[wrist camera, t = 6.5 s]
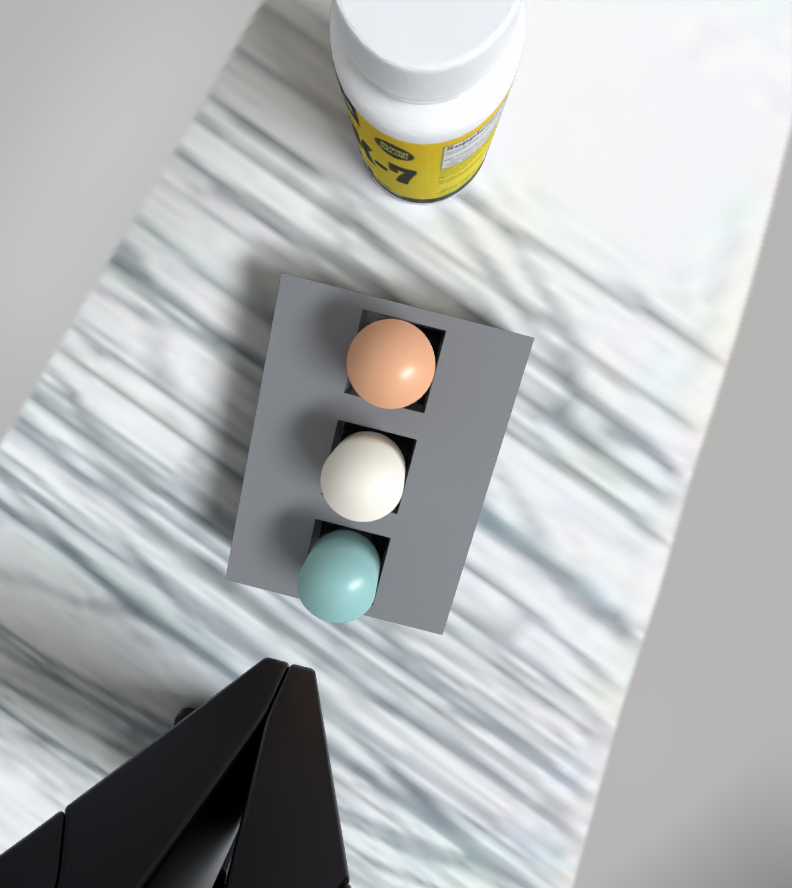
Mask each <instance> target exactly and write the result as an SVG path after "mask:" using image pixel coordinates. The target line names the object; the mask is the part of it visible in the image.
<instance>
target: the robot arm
mask: <svg viewBox="0 0 792 888" xmlns="http://www.w3.org/2000/svg"><path fill="white" fill-rule="evenodd" d="M348 883H349V872H348V866H347V860H346V854H345V848H344V842H343V836H342V830H341V824H340V818H339V812H338V806H337V800H336V794H335V788H334V782H333V776H332V770H331V764H330V758H329V752H328V746H327V740H326V734H325V728H324V722H323V716H322V710H321V704H320V698H319V692H318V686H317V680H316V674H315V671H314V670H313V669H311V668H307V667H303V666H299V665H295V664H293V665H291V666H290V667H289V664H288V663H287V662H284V661H280V660H276V659H272V658H265V659H263V660H261V661H260V662H259V663H257V664H256V665H255V666H253V667H252V668H251V669H249V670H248V671H247V672H245V673H244V674H243V675H241V676H240V677H239V678H237V679H236V680H235V681H233V682H232V683H231V684H229V685H228V686H227V687H225V688H224V689H223V690H221V691H220V692H219V693H217V694H216V695H215V696H213V697H212V698H211V699H209V700H208V701H207V702H205V703H204V704H203V705H201V706H200V707H199V708H197V709H192V708H184V709H182V710H181V711H180V712H179V714H178V715H177V717H176V719H175V722H174V726H173V727H172V728H171V729H169V730H168V731H167V732H165V733H164V734H163V735H161V736H160V737H159V738H157V739H156V740H155V741H153V742H152V743H151V744H149V745H148V746H147V747H145V748H144V749H143V750H141V751H140V752H139V753H137V754H136V755H135V756H133V757H132V758H131V759H129V760H128V761H127V762H125V763H124V764H123V765H121V766H120V767H119V768H117V769H116V770H114V771H113V772H112V773H110V774H109V775H108V776H106V777H105V778H104V779H102V780H101V781H100V782H98V783H97V784H96V785H94V786H93V787H92V788H90V789H89V790H88V791H86V792H85V793H84V794H82V795H81V796H80V797H78V798H77V799H76V800H74V801H73V802H72V803H70V804H69V805H68V806H67V807H66V809H65V814H64V812H62V811H60V812H58V813H57V814H55V815H54V816H53V817H51V818H50V819H49V820H47V821H46V822H45V823H43V824H42V825H41V826H39V827H38V828H37V829H35V830H34V831H33V832H31V833H30V834H29V835H27V836H26V837H25V838H23V839H22V840H20V841H19V842H18V843H16V844H15V845H13V846H12V847H11V848H9V849H8V850H6V851H5V852H4V853H2V854H1V855H0V888H351V886H350V885H349V884H348Z"/></svg>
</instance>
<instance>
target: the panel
mask: <svg viewBox="0 0 792 888" xmlns="http://www.w3.org/2000/svg"><path fill="white" fill-rule="evenodd" d="M370 314H374V315H378V316H381V317H385V318H389V319H398V320H403V321H406V322H408V323H410V324H413V325H417V326H420V327H424V328H428V329H432V330H436V331H440V332H443V334H442V338H441V342H440V346H439V349H438V353H437V357H436V361H435V372H434V377H433V380H432V382H431V384H430V386H429V388H428V391H427V395H426V398H425V402H424V405H422V404H418V403H412V404H410V405H408V406H405V407H402V408H397V409H385V408H380V407H377V406H374V405H372V404H370V403H368V402H367V401H365V400H364V399H363V398H362V397H360V395H359V394H358V393H357V392H356V391H355V389H354V388H353V386H352V384H351V382H350V380H349V377H348V373H347V355H348V351H349V348H350V345H351V343H352V341H353V340H354V338H355V337H356V335H357V334H358V333H359V332H360V331H361V330H362V329H363V328H365V327H366V326H367V325H368V320H369V316H370ZM533 341H534V338H533V337H529V336H525V335H521V334H518V333H514V332H510V331H506V330H502V329H498V328H494V327H490V326H486V325H483V324H479V323H475V322H471V321H467V320H463V319H459V318H455V317H451V316H448V315H444V314H440V313H436V312H432V311H428V310H424V309H420V308H416V307H413V306H409V305H405V304H401V303H397V302H393V301H389V300H385V299H381V298H378V297H374V296H370V295H366V294H362V293H358V292H354V291H350V290H346V289H343V288H339V287H335V286H331V285H327V284H323V283H319V282H315V281H311V280H308V279H304V278H300V277H296V276H292V275H288V274H284V273H281V279H280V284H279V289H278V295H277V300H276V306H275V311H274V317H273V322H272V328H271V333H270V339H269V344H268V349H267V355H266V360H265V366H264V371H263V377H262V382H261V388H260V393H259V398H258V404H257V409H256V415H255V420H254V426H253V431H252V437H251V442H250V448H249V453H248V458H247V464H246V469H245V475H244V480H243V486H242V491H241V497H240V502H239V508H238V513H237V518H236V524H235V529H234V535H233V540H232V546H231V551H230V557H229V562H228V567H227V573H226V578H225V580H229V581H233V582H237V583H241V584H245V585H249V586H253V587H257V588H260V589H264V590H268V591H272V592H276V593H280V594H284V595H288V596H292V597H296V598H300V597H299V594H298V589H297V580H298V576H299V573H300V570H301V568H302V566H303V565H304V563H305V561H306V559H307V557H308V555H309V553H310V551H311V549H312V548H313V546H314V544H315V543H316V542H317V541H318V539H319V534H320V530H321V526H322V521H326V522H330V523H334V524H338V525H342V526H346V527H350V528H354V529H357V530H361V531H365V532H369V533H373V534H377V535H381V536H385V537H389V538H388V541H387V545H386V549H385V553H384V556H383V560H382V564H381V568H380V571H379V577H378V582H377V588H376V593H375V598H374V601H373V603H372V605H371V607H370V608H369V609H368V611H367V612H366V613H365V614H363V615H366V616H370V617H374V618H378V619H382V620H386V621H390V622H394V623H398V624H402V625H406V626H409V627H413V628H417V629H421V630H425V631H429V632H433V633H437V634H441V635H442V634H443V631H444V628H445V625H446V621H447V618H448V615H449V612H450V608H451V605H452V602H453V599H454V596H455V592H456V589H457V586H458V583H459V579H460V576H461V573H462V570H463V567H464V563H465V560H466V557H467V554H468V550H469V547H470V544H471V541H472V537H473V534H474V531H475V528H476V525H477V521H478V518H479V515H480V512H481V508H482V505H483V502H484V499H485V496H486V492H487V489H488V486H489V483H490V479H491V476H492V473H493V470H494V466H495V463H496V460H497V457H498V454H499V450H500V447H501V444H502V441H503V437H504V434H505V431H506V428H507V425H508V421H509V418H510V415H511V412H512V408H513V405H514V402H515V399H516V396H517V392H518V389H519V386H520V383H521V379H522V376H523V373H524V370H525V366H526V363H527V360H528V357H529V354H530V350H531V347H532V344H533ZM345 421H346V422H350V423H354V424H358V425H362V426H366V427H369V428H373V429H377V430H381V431H385V432H389V433H393V434H397V435H401V436H405V437H408V438H412V439H415V440H414V443H413V447H412V451H411V455H410V459H409V462H408V466H407V470H406V474H405V480H404V488H403V493H402V496H401V499H400V501H399V503H398V504H397V505H396V507H395V508H394V509H393V510H392V511H391V512H390V513H389V514H387V515H386V516H384V517H382V518H380V519H378V520H374V521H369V522H357V521H352V520H349V519H347V518H344V517H342V516H341V515H339V514H338V513H336V512H335V511H334V510H333V509H332V508H331V507H330V506H329V504H328V503H327V501H326V500H325V498H324V496H323V493H322V489H321V483H320V479H321V471H322V468H323V466H324V463H325V461H326V460H327V458H328V457H329V456H330V454H331V453H332V452H333V451H334V450H335V448H336V447H337V446H338V445H339V443H340V442H341V438H342V434H343V429H344V425H345Z"/></svg>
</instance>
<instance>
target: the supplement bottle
mask: <svg viewBox="0 0 792 888" xmlns="http://www.w3.org/2000/svg"><path fill="white" fill-rule="evenodd" d="M524 36H525V7H524V0H332V4H331V11H330V44H331V52H332V57H333V63H334V67H335V72H336V76H337V79H338V82H339V85H340V88H341V91H342V94H343V97H344V100H345V103H346V106H347V110H348V113H349V118H350V120H351V123H352V126H353V129H354V132H355V136H356V139H357V142H358V146H359V150H360V153H361V155H362V158H363V161H364V163H365V166H366V168H367V170H368V172H369V173H370V175H371V176H372V178H373V179H374V180H375V182H376V183H377V184H378V185H379V186H380V187H381V188H382V189H383V190H384V191H386V192H387V193H388V194H390V195H391V196H393V197H394V198H396V199H398V200H400V201H403V202H405V203H408V204H413V205H432V204H437V203H440V202H443V201H446V200H448V199H450V198H452V197H454V196H455V195H457V194H458V193H460V192H461V191H462V190H463V189H464V188H465V187H466V186H467V185H469V183H470V182H471V181H472V180H473V179H474V177H475V176H476V174H477V173H478V171H479V169H480V168H481V166H482V164H483V162H484V159H485V157H486V154H487V151H488V149H489V146H490V144H491V141H492V138H493V135H494V132H495V130H496V127H497V124H498V122H499V119H500V116H501V114H502V111H503V108H504V105H505V103H506V100H507V97H508V95H509V92H510V89H511V87H512V84H513V81H514V78H515V76H516V73H517V70H518V67H519V63H520V60H521V55H522V49H523V44H524Z"/></svg>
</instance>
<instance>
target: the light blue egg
mask: <svg viewBox="0 0 792 888" xmlns="http://www.w3.org/2000/svg"><path fill="white" fill-rule="evenodd" d="M379 571H380V559H379V555H378V552H377V550H376V548H375V547H374V545H373V537H372V534H371V533H369V532H365V531H361V530H357V529H354V528H350V527H346V526H342V525H339V526H338V527H337V528H336V529H335V530H334V531H333V532H330V533H328V534H325V535H324V536H322V537H321V538H320V539H319V540H318V541H317V542H316V543H315V544H314V546H313V548H312V549H311V551H310V553H309V555H308V557H307V559H306V561H305V563H304V565H303V566H302V568H301V570H300V573H299V576H298V580H297V589H298V594H299V597H300V599H301V601H302V603H303V605H304V606H305V607H306V609H307V610H308V611H309V612H310V613H312V614H313V615H314V616H316V617H318V618H320V619H322V620H325V621H328V622H333V623H344V622H349V621H353V620H355V619H357V618H359V617H361V616H362V615H363V614H365V613H366V612H367V611H368V609H369V608H370V607H371V605H372V603H373V601H374V598H375V593H376V588H377V582H378V577H379Z"/></svg>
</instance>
